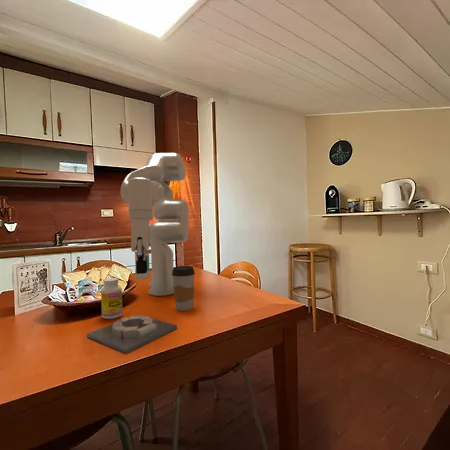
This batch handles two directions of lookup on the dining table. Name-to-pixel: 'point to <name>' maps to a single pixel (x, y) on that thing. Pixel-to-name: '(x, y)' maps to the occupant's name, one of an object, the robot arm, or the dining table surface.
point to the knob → (147, 275)
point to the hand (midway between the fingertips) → (142, 271)
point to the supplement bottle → (111, 299)
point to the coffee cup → (183, 287)
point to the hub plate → (132, 341)
